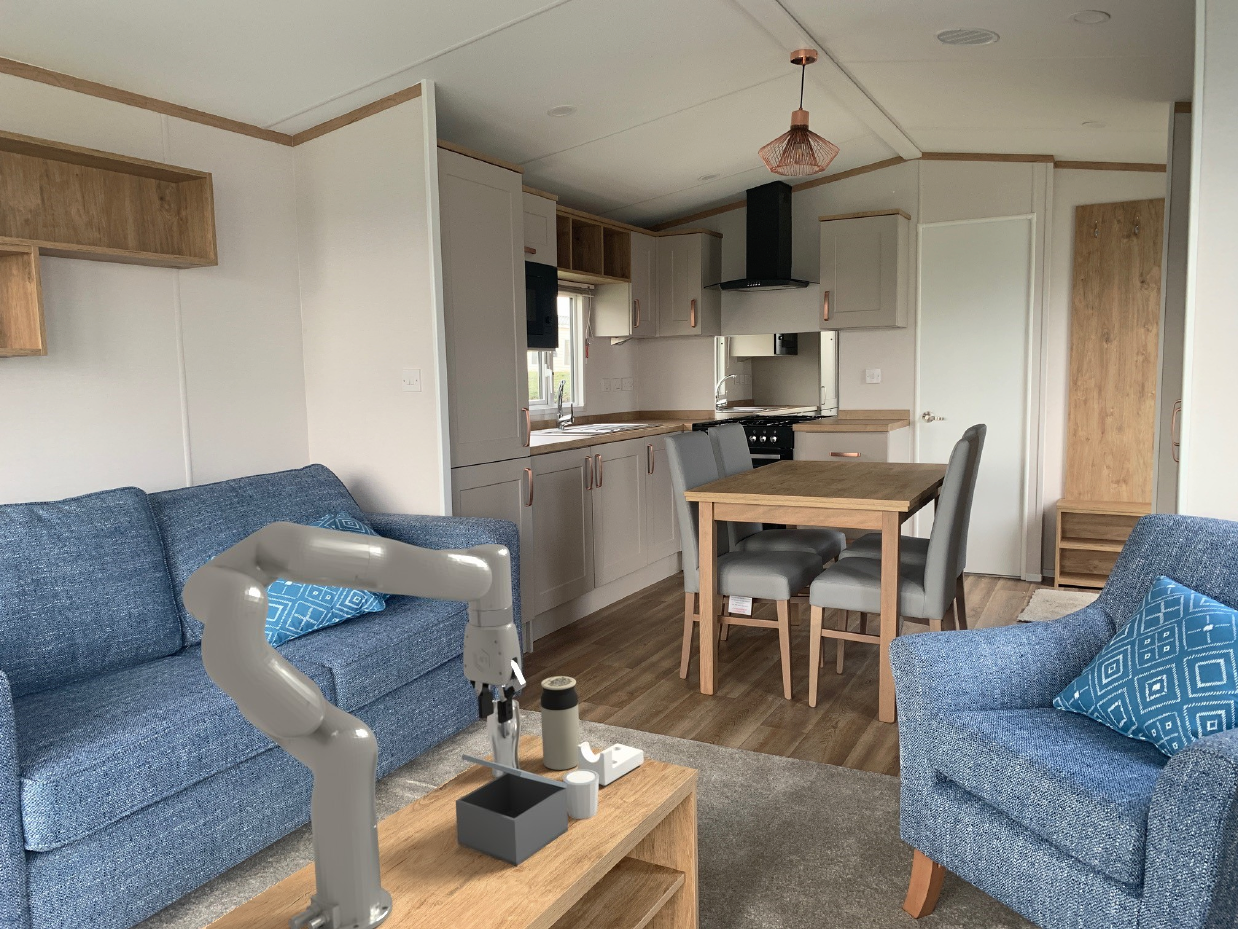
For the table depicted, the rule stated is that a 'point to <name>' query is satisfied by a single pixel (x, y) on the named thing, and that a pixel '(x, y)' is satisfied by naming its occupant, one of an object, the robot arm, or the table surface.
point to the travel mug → (560, 723)
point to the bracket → (609, 761)
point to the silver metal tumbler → (504, 738)
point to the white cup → (582, 793)
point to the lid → (514, 771)
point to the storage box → (511, 817)
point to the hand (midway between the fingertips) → (496, 717)
